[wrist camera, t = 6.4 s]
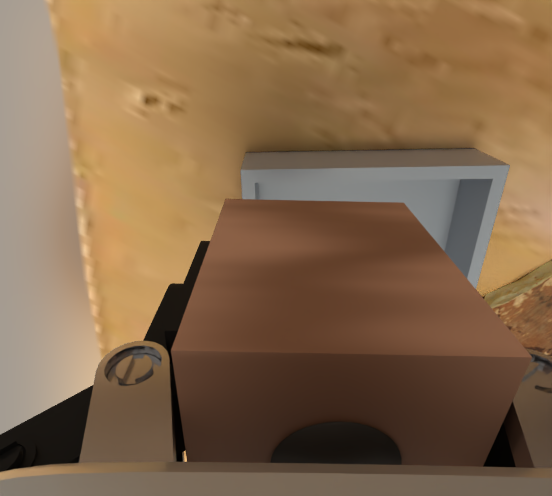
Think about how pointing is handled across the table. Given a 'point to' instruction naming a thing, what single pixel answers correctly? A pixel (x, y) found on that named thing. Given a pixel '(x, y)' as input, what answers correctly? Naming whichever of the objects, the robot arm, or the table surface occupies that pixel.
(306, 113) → the table surface
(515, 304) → the shard
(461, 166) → the tray
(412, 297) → the bored block
